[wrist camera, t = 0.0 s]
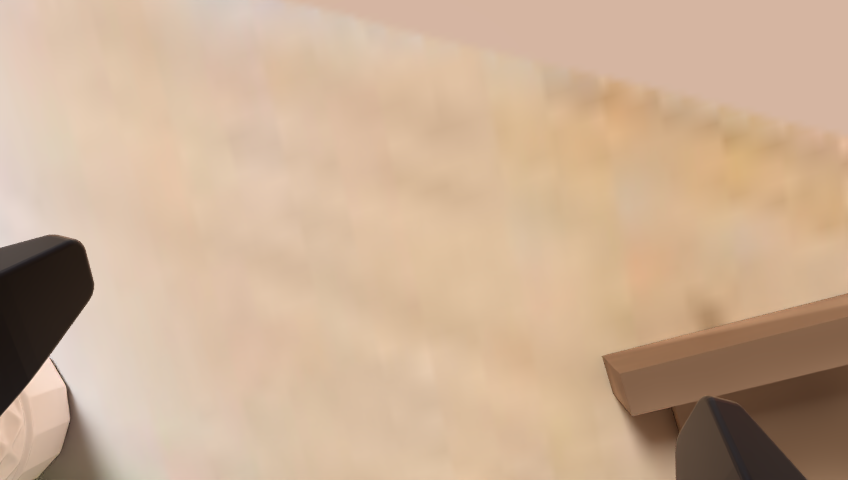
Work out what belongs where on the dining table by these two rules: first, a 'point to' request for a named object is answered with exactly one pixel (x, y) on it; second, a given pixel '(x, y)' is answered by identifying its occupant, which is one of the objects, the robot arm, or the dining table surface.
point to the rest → (756, 379)
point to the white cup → (34, 426)
